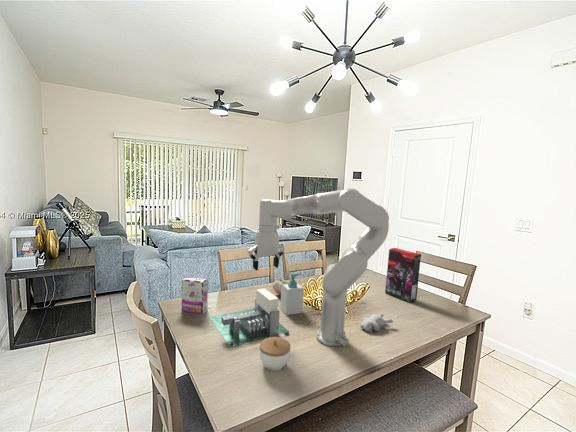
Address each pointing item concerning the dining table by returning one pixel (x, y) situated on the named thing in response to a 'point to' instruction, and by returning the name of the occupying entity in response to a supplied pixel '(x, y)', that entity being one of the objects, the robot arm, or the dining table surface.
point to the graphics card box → (403, 274)
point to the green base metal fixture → (250, 327)
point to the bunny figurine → (374, 322)
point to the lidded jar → (274, 352)
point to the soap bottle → (292, 296)
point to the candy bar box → (194, 295)
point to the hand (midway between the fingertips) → (265, 268)
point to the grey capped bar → (241, 317)
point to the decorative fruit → (278, 285)
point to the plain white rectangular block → (266, 300)
